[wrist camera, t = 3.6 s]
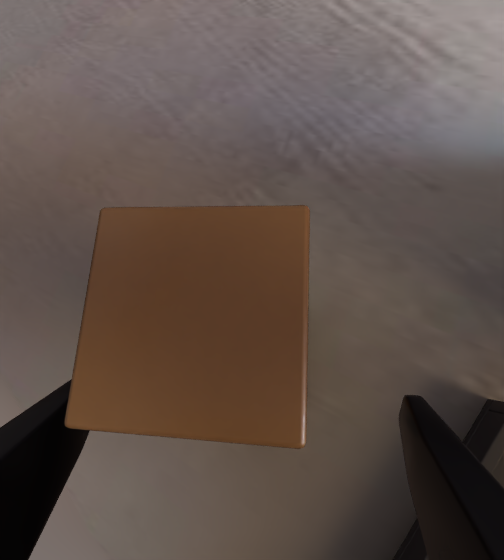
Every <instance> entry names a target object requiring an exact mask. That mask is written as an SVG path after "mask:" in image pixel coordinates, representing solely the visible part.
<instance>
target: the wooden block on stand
mask: <svg viewBox="0 0 504 560" xmlns="http://www.w3.org/2000/svg"><path fill="white" fill-rule="evenodd" d="M309 234H310V210H309V208H308V206H304V205H296V206H206V207H116V208H102V209H101V211H100V215H99V221H98V227H97V233H96V239H95V244H94V250H93V256H92V262H91V268H90V274H89V280H88V286H87V292H86V298H85V304H84V310H83V316H82V322H81V327H80V333H79V339H78V345H77V351H76V357H75V363H74V369H73V375H72V381H71V387H70V393H69V399H68V405H67V410H66V416H65V426H66V427H68V428H70V429H81V430H92V431H104V432H115V433H126V434H138V435H149V436H160V437H171V438H183V439H194V440H205V441H216V442H228V443H239V444H250V445H261V446H273V447H284V448H295V449H300V448H303V447H304V446H305V444H306V431H307V365H308V299H309Z"/></svg>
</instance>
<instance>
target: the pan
mask: <svg viewBox="0 0 504 560" xmlns="http://www.w3.org/2000/svg"><path fill="white" fill-rule="evenodd" d="M463 443H464V444H465V445H466V446H467V447H468V449H469V450H470V451H471V452H472V453H473V454H474V455H475V456H476V457H477V459H478V460H479V461H480V462H481V463H482V464H483V465H484V466H485V467H486V469H487V470H488V471H489V472H490V473H491V474H492V475H493V476H494V477H495V479H496V480H497V481H498V482H499V483H500V484H501V485H502V486H503V487H504V402H501V401H496V400H491V399H489V400H488V401H487V403H486V404H485V406H484V408H483V409H482V411H481V413H480V414H479V416H478V418H477V419H476V421H475V423H474V424H473V426H472V428H471V429H470V431H469V433H468V434H467V436H466V438H465V439H464V441H463ZM393 560H429V559H428V555H427V551H426V548H425V544H424V540H423V536H422V533H421V529H420V525H419V521H418V518H417V520H416V522H415V523H414V525H413V527H412V528H411V530H410V532H409V534H408V535H407V537H406V539H405V540H404V542H403V544H402V545H401V547H400V549H399V550H398V552H397V554H396V555H395V557H394V559H393Z"/></svg>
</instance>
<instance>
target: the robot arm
mask: <svg viewBox="0 0 504 560" xmlns="http://www.w3.org/2000/svg"><path fill="white" fill-rule="evenodd" d="M71 381H72V379H71V380H70V381H68V382H67V383H65V384H64V385H62V386H61V387H59V388H58V389H56V390H55V391H53V392H52V393H51V394H49V395H48V396H46V397H45V398H43V399H42V400H40V401H39V402H37V403H36V404H34V405H33V406H31V407H30V408H28V409H27V410H26V411H24V412H23V413H21V414H20V415H18V416H17V417H15V418H14V419H12V420H11V421H9V422H8V423H6V424H5V425H4V426H2V427H1V428H0V560H28V559H29V557H30V555H31V553H32V551H33V549H34V547H35V545H36V543H37V541H38V539H39V537H40V535H41V533H42V531H43V529H44V527H45V525H46V523H47V521H48V518H49V516H50V514H51V512H52V510H53V508H54V506H55V504H56V502H57V500H58V498H59V496H60V494H61V492H62V490H63V488H64V486H65V484H66V482H67V480H68V478H69V476H70V474H71V472H72V470H73V467H74V465H75V463H76V461H77V459H78V457H79V455H80V453H81V451H82V449H83V446H84V444H85V441H86V439H87V436H88V433H89V431H90V430H81V429H70V428H68V427H66V426H65V416H66V410H67V405H68V399H69V393H70V387H71ZM399 426H400V433H401V439H402V446H403V452H404V459H405V466H406V472H407V478H408V483H409V487H410V491H411V495H412V499H413V503H414V506H415V510H416V514H417V518H418V521H419V525H420V529H421V533H422V536H423V540H424V544H425V548H426V551H427V555H428V559H429V560H504V487H503V486H502V485H501V484H500V483H499V482H498V481H497V480H496V479H495V477H494V476H493V475H492V474H491V473H490V472H489V471H488V470H487V469H486V467H485V466H484V465H483V464H482V463H481V462H480V461H479V460H478V459H477V457H476V456H475V455H474V454H473V453H472V452H471V451H470V450H469V449H468V447H467V446H466V445H465V444H464V443H463V442H462V441H461V440H460V439H459V437H458V436H457V435H456V434H455V433H454V432H453V431H452V430H451V429H450V427H449V426H448V425H447V424H446V423H445V422H444V421H443V420H442V419H441V417H440V416H439V415H438V414H437V413H436V412H435V411H434V410H433V409H432V407H431V406H430V405H429V404H428V403H427V402H426V401H425V400H424V399H423V398H422V397H421V396H418V395H405V396H404V397H403V400H402V404H401V408H400V412H399Z"/></svg>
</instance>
